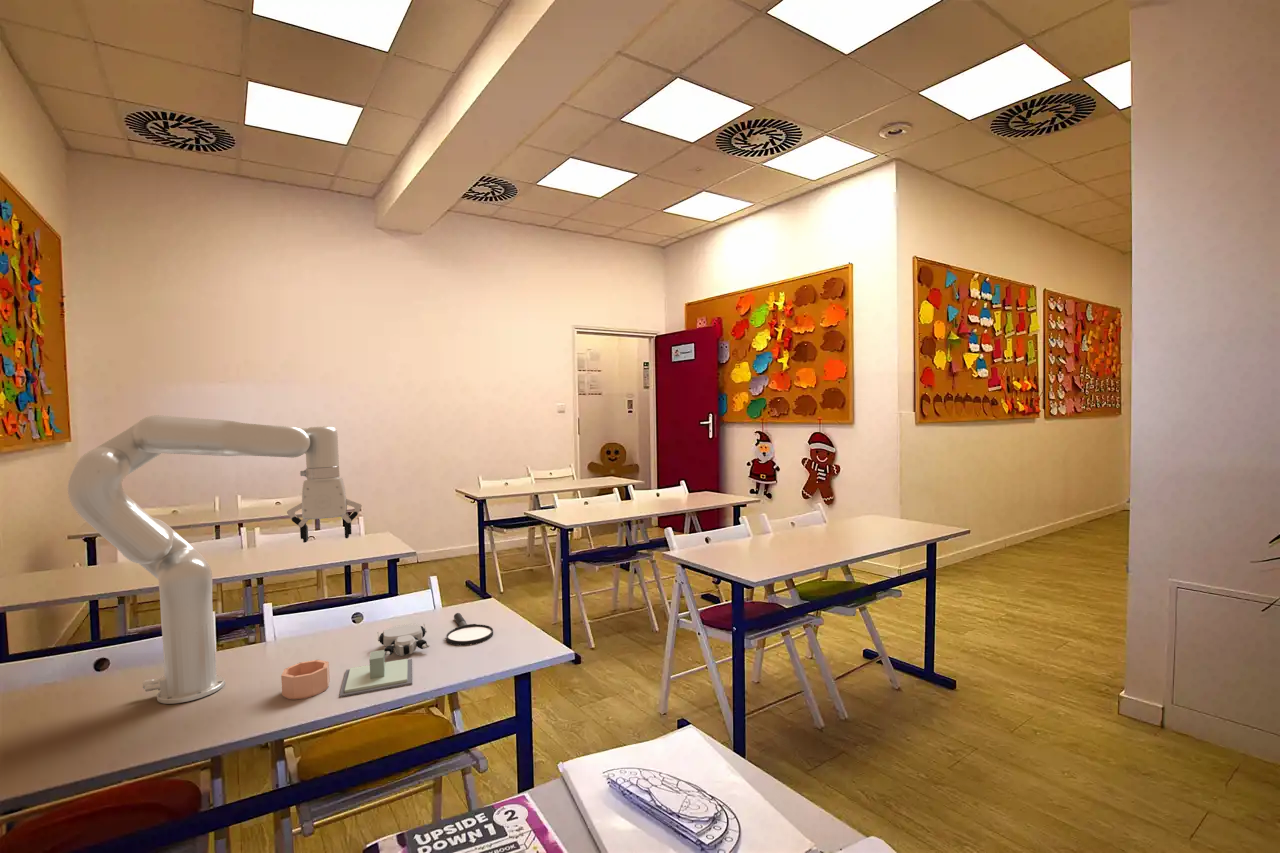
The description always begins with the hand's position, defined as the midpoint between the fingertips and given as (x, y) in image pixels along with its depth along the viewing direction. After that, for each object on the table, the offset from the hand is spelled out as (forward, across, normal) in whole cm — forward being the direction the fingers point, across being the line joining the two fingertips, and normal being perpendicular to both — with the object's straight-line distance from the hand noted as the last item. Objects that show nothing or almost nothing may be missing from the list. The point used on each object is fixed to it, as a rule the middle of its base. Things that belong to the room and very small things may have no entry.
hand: (326, 539), depth 159 cm
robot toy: (+31, +18, -4) cm, 36 cm away
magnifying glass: (+31, +34, +3) cm, 46 cm away
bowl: (+30, -3, -21) cm, 37 cm away
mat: (+30, +12, -21) cm, 39 cm away
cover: (+30, +12, -21) cm, 38 cm away
